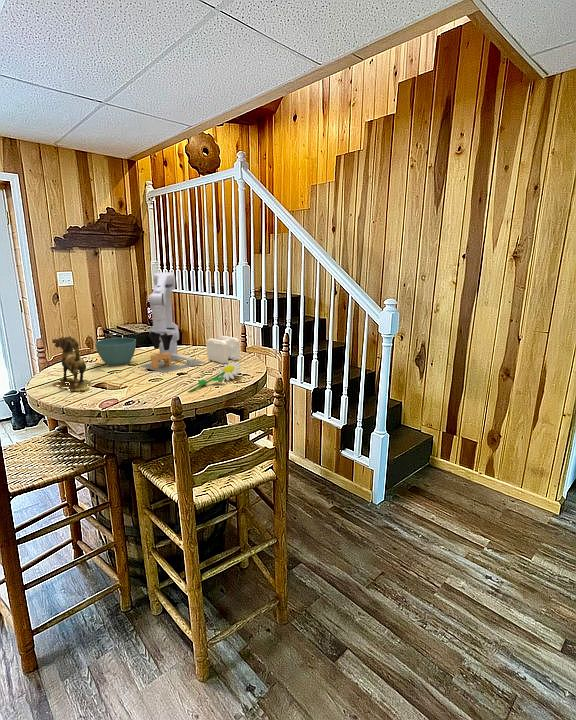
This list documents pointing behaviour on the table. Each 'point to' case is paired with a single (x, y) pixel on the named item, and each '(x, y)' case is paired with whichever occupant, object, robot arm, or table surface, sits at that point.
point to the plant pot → (116, 350)
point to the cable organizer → (223, 349)
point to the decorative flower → (222, 374)
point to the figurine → (71, 364)
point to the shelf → (174, 357)
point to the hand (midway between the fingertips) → (161, 349)
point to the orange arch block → (159, 357)
